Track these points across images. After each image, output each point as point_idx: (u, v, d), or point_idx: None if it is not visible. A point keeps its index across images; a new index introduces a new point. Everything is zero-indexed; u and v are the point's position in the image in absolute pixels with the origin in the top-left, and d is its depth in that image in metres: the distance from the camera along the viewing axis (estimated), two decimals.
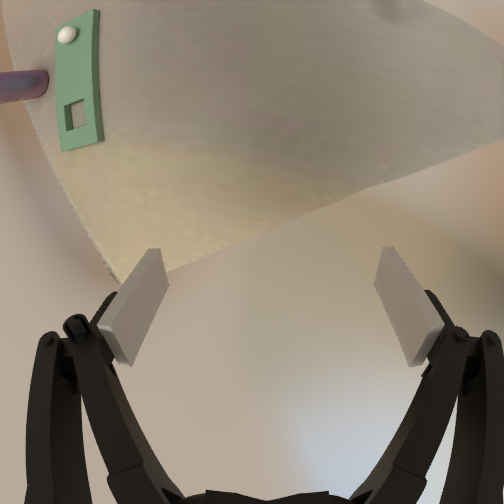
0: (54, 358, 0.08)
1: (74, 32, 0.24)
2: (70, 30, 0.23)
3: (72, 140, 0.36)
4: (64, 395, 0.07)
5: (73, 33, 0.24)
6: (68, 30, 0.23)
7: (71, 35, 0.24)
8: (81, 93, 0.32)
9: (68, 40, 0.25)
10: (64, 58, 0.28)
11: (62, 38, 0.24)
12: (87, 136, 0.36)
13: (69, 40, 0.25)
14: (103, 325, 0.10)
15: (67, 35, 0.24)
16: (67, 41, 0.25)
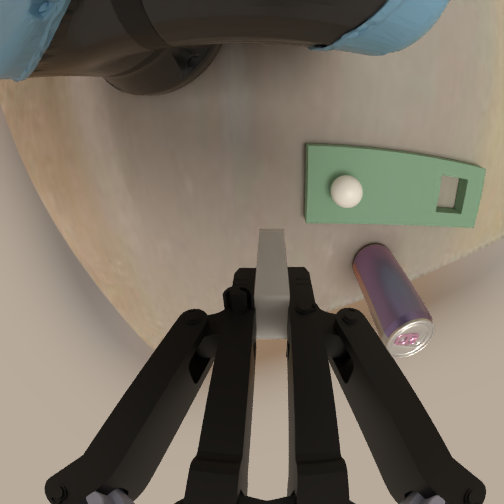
0: (192, 343, 0.09)
1: None
2: (350, 180, 0.25)
3: (472, 205, 0.27)
4: (183, 384, 0.09)
5: (352, 177, 0.26)
6: (350, 182, 0.25)
7: (356, 179, 0.26)
8: (435, 177, 0.26)
9: (361, 186, 0.26)
10: (372, 204, 0.29)
11: (359, 194, 0.25)
12: (477, 182, 0.26)
13: None
14: (262, 295, 0.11)
15: (357, 185, 0.25)
16: (361, 189, 0.26)
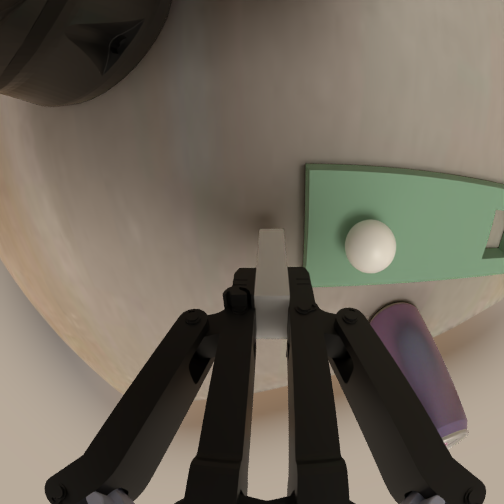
0: (191, 343, 0.09)
1: (377, 221, 0.16)
2: (379, 232, 0.15)
3: None
4: (183, 383, 0.09)
5: (382, 224, 0.15)
6: (378, 236, 0.15)
7: (388, 229, 0.15)
8: (488, 213, 0.16)
9: None
10: (404, 257, 0.19)
11: (392, 254, 0.15)
12: None
13: None
14: (262, 295, 0.11)
15: (390, 240, 0.15)
16: None
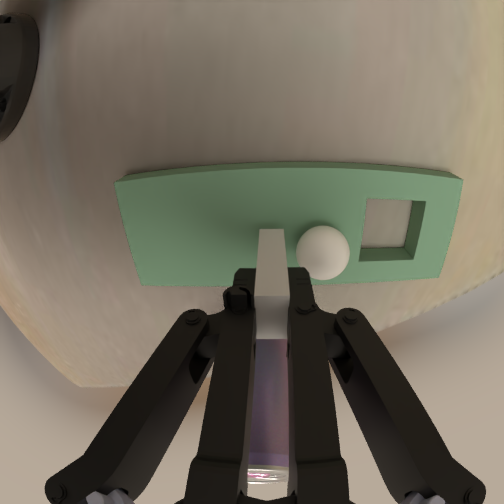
0: (192, 343, 0.09)
1: (329, 228, 0.16)
2: (321, 237, 0.16)
3: (435, 244, 0.18)
4: (183, 384, 0.09)
5: (331, 232, 0.16)
6: (318, 241, 0.16)
7: (335, 237, 0.16)
8: (352, 204, 0.17)
9: (346, 250, 0.16)
10: (230, 258, 0.20)
11: (333, 263, 0.15)
12: (445, 204, 0.16)
13: None
14: (262, 295, 0.11)
15: (331, 248, 0.15)
16: (347, 253, 0.16)
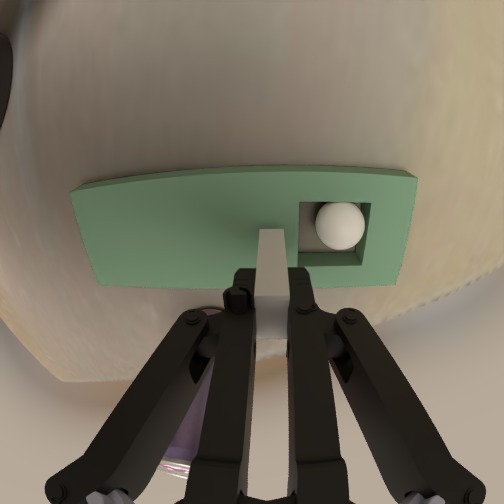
0: (192, 343, 0.09)
1: None
2: None
3: (388, 249, 0.18)
4: (183, 384, 0.09)
5: None
6: None
7: None
8: (284, 208, 0.17)
9: None
10: (169, 262, 0.20)
11: None
12: (396, 206, 0.17)
13: None
14: (262, 295, 0.11)
15: None
16: None
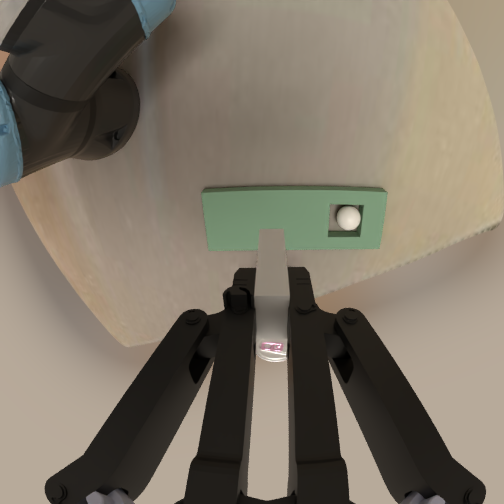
0: (191, 343, 0.09)
1: None
2: None
3: (373, 228, 0.37)
4: (183, 384, 0.09)
5: None
6: None
7: None
8: (322, 207, 0.36)
9: None
10: None
11: None
12: (376, 206, 0.35)
13: (337, 214, 0.37)
14: (262, 295, 0.11)
15: None
16: None
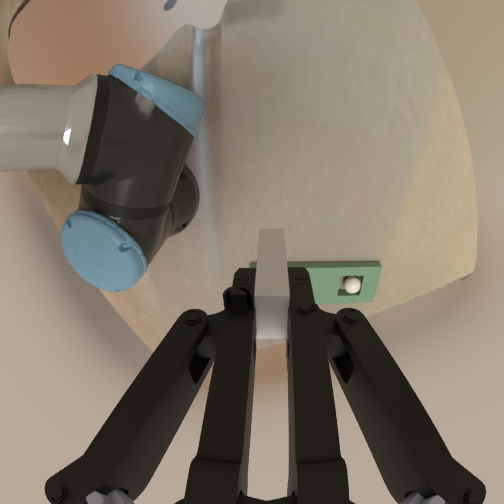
0: (192, 343, 0.09)
1: None
2: None
3: (369, 289, 0.52)
4: (183, 384, 0.09)
5: None
6: None
7: None
8: (335, 278, 0.51)
9: (344, 282, 0.53)
10: None
11: None
12: (372, 275, 0.50)
13: None
14: (262, 295, 0.11)
15: None
16: (344, 283, 0.53)
